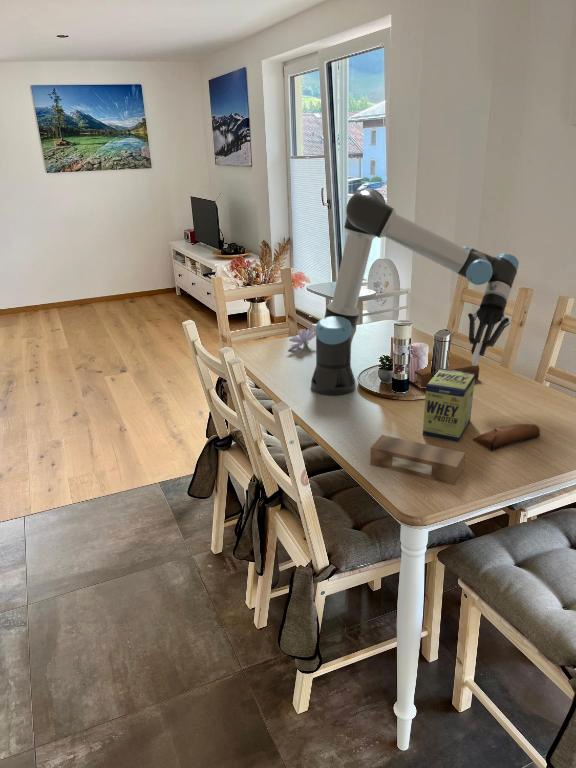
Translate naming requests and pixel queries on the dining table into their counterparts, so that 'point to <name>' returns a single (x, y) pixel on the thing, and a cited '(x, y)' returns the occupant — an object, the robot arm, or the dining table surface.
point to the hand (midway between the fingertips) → (474, 363)
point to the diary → (454, 364)
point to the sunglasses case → (507, 435)
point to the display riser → (418, 459)
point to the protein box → (448, 404)
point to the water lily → (303, 338)
